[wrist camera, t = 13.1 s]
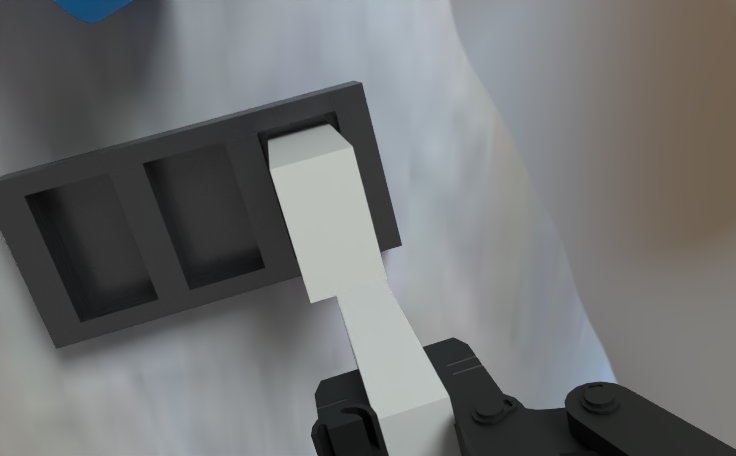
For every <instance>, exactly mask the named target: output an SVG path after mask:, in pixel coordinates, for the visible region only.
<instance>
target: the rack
mask: <svg viewBox="0 0 736 456" xmlns="http://www.w3.org/2000/svg"><path fill="white" fill-rule="evenodd" d="M326 121H327V122H328V123H329V124H330V125H331V126H332V127H333V128H334V129H335V130H336V131H337V132H338V133H339V134H340V135H341V136H342V137H343V138H344V139H345V140H346V141H347V142H348V143H349V144H351V145H352V146H353V150H354V154H355V157H356V161H357V165H358V169H359V173H360V177H361V181H362V184H363V188H364V192H365V196H366V200H367V204H368V208H369V211H370V215H371V219H372V223H373V227H374V231H375V235H376V238H377V242H378V246H379V250H380V252H382V251H385V250H388V249H392V248H395V247H398V246H402V244H401V240H400V236H399V231H398V227H397V223H396V219H395V215H394V211H393V207H392V203H391V199H390V195H389V191H388V187H387V183H386V179H385V175H384V171H383V167H382V163H381V159H380V154H379V150H378V146H377V142H376V138H375V134H374V130H373V126H372V122H371V118H370V114H369V110H368V106H367V102H366V98H365V94H364V90H363V86H362V83H361V82H357V81H351V82H347V83H344V84H340V85H336V86H333V87H329V88H325V89H322V90H318V91H314V92H310V93H307V94H303V95H299V96H296V97H292V98H288V99H285V100H281V101H277V102H273V103H270V104H266V105H262V106H259V107H255V108H251V109H248V110H244V111H240V112H236V113H233V114H229V115H225V116H222V117H218V118H214V119H211V120H207V121H203V122H199V123H196V124H192V125H188V126H185V127H181V128H177V129H174V130H170V131H166V132H162V133H159V134H155V135H151V136H148V137H144V138H140V139H137V140H133V141H129V142H125V143H122V144H118V145H114V146H111V147H107V148H103V149H100V150H96V151H92V152H88V153H85V154H81V155H77V156H74V157H70V158H66V159H63V160H59V161H55V162H51V163H48V164H44V165H40V166H37V167H33V168H29V169H26V170H22V171H18V172H14V173H11V174H7V175H4V176H2V177H0V229H1V231H2V233H3V235H4V238H5V240H6V242H7V244H8V246H9V248H10V250H11V253H12V255H13V257H14V259H15V261H16V263H17V265H18V268H19V270H20V272H21V274H22V276H23V278H24V280H25V283H26V285H27V287H28V289H29V291H30V293H31V295H32V298H33V300H34V302H35V304H36V306H37V308H38V310H39V313H40V315H41V317H42V319H43V321H44V323H45V326H46V328H47V330H48V332H49V334H50V336H51V338H52V341H53V343H54V345H55V347H56V348H60V347H63V346H66V345H70V344H73V343H77V342H80V341H83V340H87V339H90V338H93V337H97V336H100V335H103V334H107V333H110V332H113V331H117V330H120V329H123V328H127V327H130V326H134V325H137V324H140V323H144V322H147V321H150V320H154V319H157V318H160V317H164V316H167V315H170V314H174V313H177V312H180V311H184V310H187V309H190V308H194V307H197V306H201V305H204V304H207V303H211V302H214V301H217V300H221V299H224V298H227V297H231V296H234V295H237V294H241V293H244V292H247V291H251V290H254V289H258V288H261V287H264V286H268V285H271V284H274V283H278V282H281V281H284V280H288V279H291V278H294V277H298V276H301V275H302V273H301V270H300V267H299V264H298V260H297V257H296V254H295V251H294V247H293V244H292V241H291V238H290V234H289V231H288V228H287V225H286V221H285V218H284V215H283V212H282V208H281V205H280V202H279V198H278V195H277V192H276V189H275V185H274V182H273V179H272V175H271V172H270V165H269V150H268V137H271V136H275V135H278V134H282V133H286V132H289V131H293V130H297V129H300V128H304V127H308V126H311V125H315V124H318V123H322V122H326Z"/></svg>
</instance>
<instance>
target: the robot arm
mask: <svg viewBox="0 0 736 456" xmlns="http://www.w3.org/2000/svg"><path fill="white" fill-rule="evenodd" d="M335 293H336V296H337V300H338V303H339V307H340V310H341V313H342V317H343V320H344V324H345V327H346V331H347V334H348V337H349V341H350V344H351V348H352V351H353V355H354V358H355V361H356V365H357V368H358V369H357V370H354V371H350V372H347V373H344V374H341V375H338V376H335V377H332V378H328V379H325V380H322V381H321V382H320V384H319V386H318V388H317V390H316V393H315V400H316V407H317V413H318V420H317V421H316V422H315V424H314V425H313V427H312V432H311V437H312V440H313V443H314V446H315V449H316V452H317V455H318V456H736V449H734V448H732V447H731V446H729V445H727V444H725V443H723V442H722V441H720V440H718V439H716V438H715V437H713V436H711V435H709V434H707V433H706V432H704V431H702V430H700V429H699V428H697V427H695V426H693V425H691V424H690V423H688V422H686V421H684V420H682V419H681V418H679V417H677V416H675V415H674V414H672V413H670V412H668V411H667V410H665V409H663V408H661V407H659V406H658V405H656V404H654V403H652V402H650V401H649V400H647V399H645V398H643V397H642V396H640V395H638V394H636V393H635V392H633V391H631V390H629V389H627V388H625V387H623V386H620V385H618V384H615V383H608V382H593V383H586V384H584V385H581V386H578V387H576V388H575V389H573V390H572V391H571V392H569V393H568V395H567V397H566V399H565V407H566V408H557V409H545V410H535V409H527V408H525V407H524V406H523V405H522V403H520V402H519V401H518V400H517V399H516V398H514V397H511V396H508V395H505V394H503V393H502V391H501V390H500V389H499V387H498V386H497V384H496V383H495V382H494V380H493V379H492V377H491V376H490V375H489V373H488V372H487V370H486V369H485V368H484V366H482V364H481V362H480V361H479V359H478V358H477V357H476V356H475V354H474V352H473V351H472V350H471V348H470V347H469V345H468V344H466V343H464V342H462V341H460V340H458V339H456V338H454V337H453V338H450V339H447V340H444V341H440V342H437V343H434V344H431V345H428V346H425V347H422V346H421V344H420V342H419V341H418V339H417V337H416V335H415V333H414V332H413V330H412V328H411V326H410V324H409V323H408V321H407V319H406V317H405V315H404V314H403V312H402V310H401V308H400V306H399V305H398V303H397V301H396V299H395V297H394V296H393V294H392V292H391V290H390V288H389V286H388V285H387V283H386V281H385V279H384V278H381V279H378V280H375V281H371V282H368V283H365V284H361V285H358V286H355V287H351V288H348V289H345V290H342V291H338V292H335Z"/></svg>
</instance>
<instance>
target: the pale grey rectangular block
mask: <svg viewBox="0 0 736 456" xmlns="http://www.w3.org/2000/svg"><path fill="white" fill-rule="evenodd" d="M268 150H269V165H270V172H271V175H272V179H273V182H274V185H275V189H276V192H277V195H278V198H279V202H280V205H281V208H282V212H283V215H284V218H285V221H286V225H287V228H288V231H289V234H290V238H291V241H292V244H293V247H294V251H295V254H296V257H297V260H298V264H299V267H300V270H301V273H302V277H303V280H304V283H305V286H306V289H307V293H308V296H309V299H310V302H311V303H314V302H317V301H321V300H324V299H327V298H331V297H334V296H336V293H335V292H338V291H342V290H345V289H348V288H351V287H355V286H358V285H361V284H365V283H368V282H371V281H375V280H378V279H381V278H384V279H385V281H387V277H386V273H385V269H384V265H383V261H382V258H381V254H380V250H379V246H378V242H377V238H376V235H375V231H374V227H373V223H372V219H371V215H370V211H369V208H368V204H367V200H366V196H365V192H364V188H363V184H362V181H361V177H360V173H359V169H358V165H357V161H356V157H355V154H354V150H353V146H352V145H351V144H349V143H348V142H347V141H346V140H345V139H344V138H343V137H342V136H341V135H340V134H339V133H338V132H337V131H336V130H335V129H334V128H333V127H332V126H331V125H330V124H329V123H328V122H327V121H326V122H322V123H318V124H315V125H311V126H308V127H304V128H300V129H297V130H293V131H289V132H286V133H282V134H278V135H275V136H271V137H268Z"/></svg>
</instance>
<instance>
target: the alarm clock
mask: <svg viewBox="0 0 736 456" xmlns="http://www.w3.org/2000/svg"><path fill="white" fill-rule="evenodd" d="M53 1H54V2H55V3H57V4H58V5H59V6H60V7H61V8H63V9H64V10H65V11H67V12H68V13H69V14H71V15H73V16H74V17H76V18H78V19H80V20H82V21H84V22H87V23H96V22H99V21H101V20H103V19H104V18H106V17H107V16H109V15H111V14H112V13H114V12H115V11H117V10H119V9H120V8H122V7H124V6H125V5H127V4H128V3H130V2H132V1H133V0H53Z"/></svg>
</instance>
